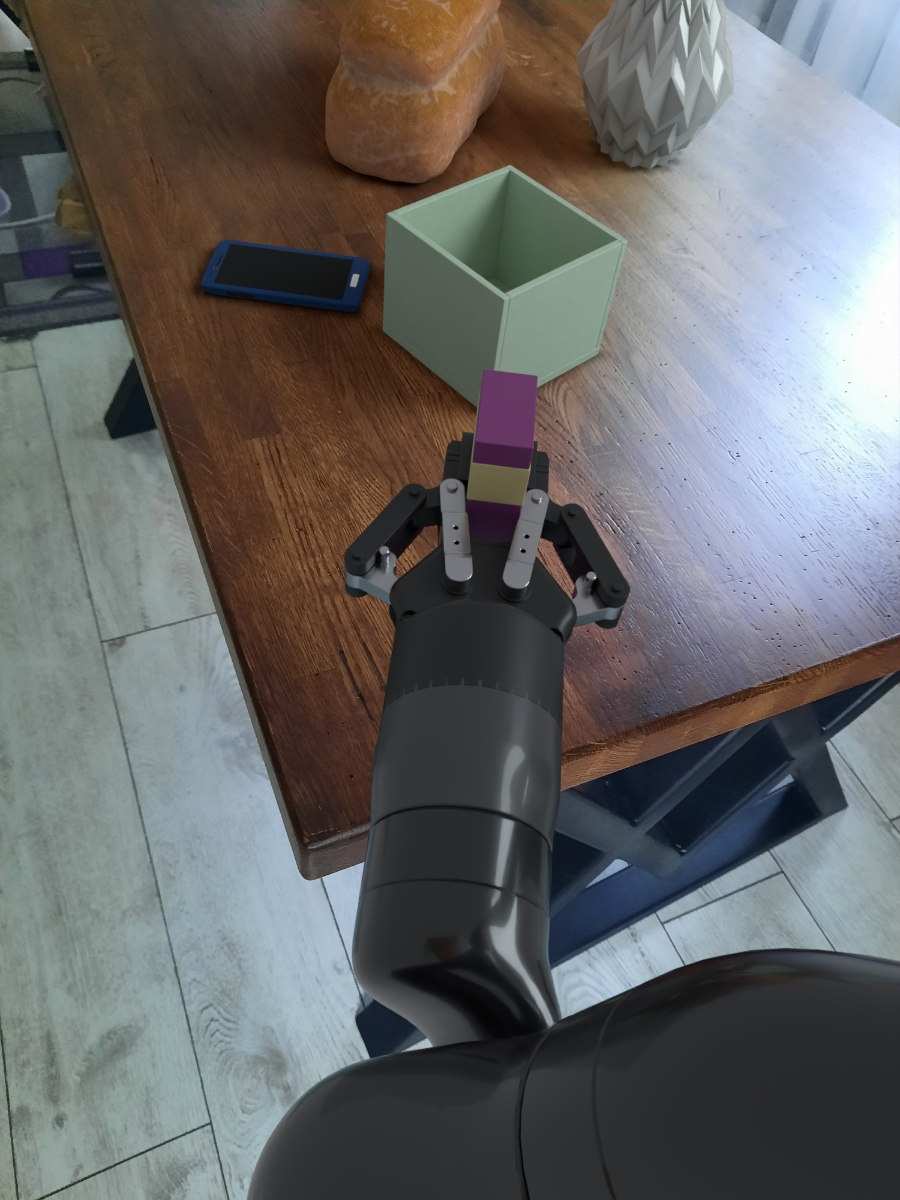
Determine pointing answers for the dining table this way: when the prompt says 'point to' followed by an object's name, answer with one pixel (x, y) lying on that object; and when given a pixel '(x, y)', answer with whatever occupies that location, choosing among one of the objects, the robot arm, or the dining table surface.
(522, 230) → the open storage box
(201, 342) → the dining table surface
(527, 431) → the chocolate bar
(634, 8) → the vase
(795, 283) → the dining table surface
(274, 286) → the cell phone
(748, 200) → the dining table surface
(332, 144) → the bread
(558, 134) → the dining table surface
